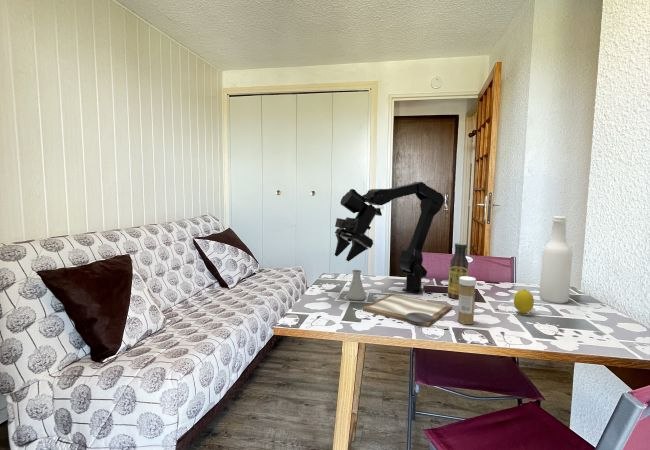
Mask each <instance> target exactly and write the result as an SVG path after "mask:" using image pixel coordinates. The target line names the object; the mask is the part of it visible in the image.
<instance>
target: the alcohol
mask: <svg viewBox="0 0 650 450" xmlns="http://www.w3.org/2000/svg"><path fill="white" fill-rule="evenodd" d="M552 218H553V219H552V228H551V234H550V240H549V241H548V243H546V245H545V246H544V247H543V249H542V254H541V255H542V257H541V269H540V271H541V272H540V282H539V283H540V285H539V286H540V287H539V297H540V299H541V300H542V301H545V302H547V303H551V304H552V303H553V304H561V305H562V304H567V303H568V301H569V300H570V290H571V287H570V286H571V273H572V265H573V264H572V262H573V251H572V248H571V247H570V246H569V244H568V243H567V219H568V218H567V216H563V215H562V216H561V215H559V216H558V215H557V216H556V215H555V216H553V217H552Z"/></svg>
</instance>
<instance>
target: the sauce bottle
mask: <svg viewBox="0 0 650 450" xmlns="http://www.w3.org/2000/svg"><path fill="white" fill-rule="evenodd" d="M467 247H468V244H467V243H464V242H463V243H462V242H455V243H454V255H453V256H452V258H451V259H450V265H449V272H448V284H447V296H448V298H451V299H456V300H459V290H460V285H459V278H460V277H462V276H468V274H469V273H468V272H469V261H468V259H467V256H466V254H467Z"/></svg>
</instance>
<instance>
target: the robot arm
mask: <svg viewBox="0 0 650 450" xmlns="http://www.w3.org/2000/svg"><path fill="white" fill-rule="evenodd" d="M411 195H415V196H416V198H417V199H418V200H419V201H420V204H419V206H420V214H419V218H418V220H417V224H416V226H415V230H414V232H413V235H412V238H411V240H410V243H409V246H408V248H406V249H402V250H401V252H400V256H399V258H398V265H399V267H400V269H401V272H402V274H406V279H405V280H406V281H405V287H403V288H402V291H404V292H408V293H409V292H410V293H414V294H419V293H422V292H423V291H425V288H424V287H422V279H423V278H425V277H427V274H428V271H427V269H426V268H425V267H424V266H423V260H424V258H423V249H424V245H425V243H426V240H427V237H428V234H429V231H430V227H431V225H432V223H433V219H434V217H435V216H436V215H437V214H438V213H439V212H440V211H441V209H442V207H443V206H444V203H445V198H444V195H443V194H442V193H441V192H438V191H437V190H435V189H434V188H433V187H430V186H428V185H427V184H426V183H424V182H423V181H414V182H412V183H407V184H403V185H399V186H394V187H391V188H371V189H368V191H367V192H366V193H365V194H363V195H362V194H360V193H358V191H356V190H355V189H354V188H350V189H349V190H348V192H346V193H345V194H344V195H342V198H341V199H340V205H341V206H342V207H344V208H345V209H346V210H348V211H350V213H352V214H356V213H357V214H356V216H355V217H346V218H345V219H344V218H339V217H336V221H335V225H334V227H335V228H336V230H335V232H334V234H335V237H336V240H337V242H336V247H335V252H334V256H336V257H338V256H340V255H341V254H342V253H343V252H344V251H345V250H346V249H347V248H348V246H349V245H351V247H350V250H349V251H348V253H347V256H346V259H345V261H346V262H350V261H352V260H353V259H354V258H356V257H357V256H358V255H360V254H362V253H363V252H365V251H367V250H369V249H372V247H373V245H374V240H373V239H372V238H370V236H368V235H366V233H367V230H370V229H371V228H372V226H370V225H371V224H372V221H373V220H374V219H375V216H380V217H382V215H383V212H382V210H381V208H380V207H375V206H383V205H386V204H388V203H390V202H391V201H393V200H394V199H399V198H402V197H406V196H411Z"/></svg>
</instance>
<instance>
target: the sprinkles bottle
mask: <svg viewBox="0 0 650 450" xmlns="http://www.w3.org/2000/svg"><path fill="white" fill-rule="evenodd" d="M459 285H460V290H459V299H458V308H457V309H458V315H457V316H458V317H457V321H458V322H459V323H461V324H463V325H473V324H474V322H475V319H474V316H475V304H476V303H475V297H476V296H475V294H476V285H477V279H476V277H474V276H468V275H467V276H462V277H460V278H459Z"/></svg>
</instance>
